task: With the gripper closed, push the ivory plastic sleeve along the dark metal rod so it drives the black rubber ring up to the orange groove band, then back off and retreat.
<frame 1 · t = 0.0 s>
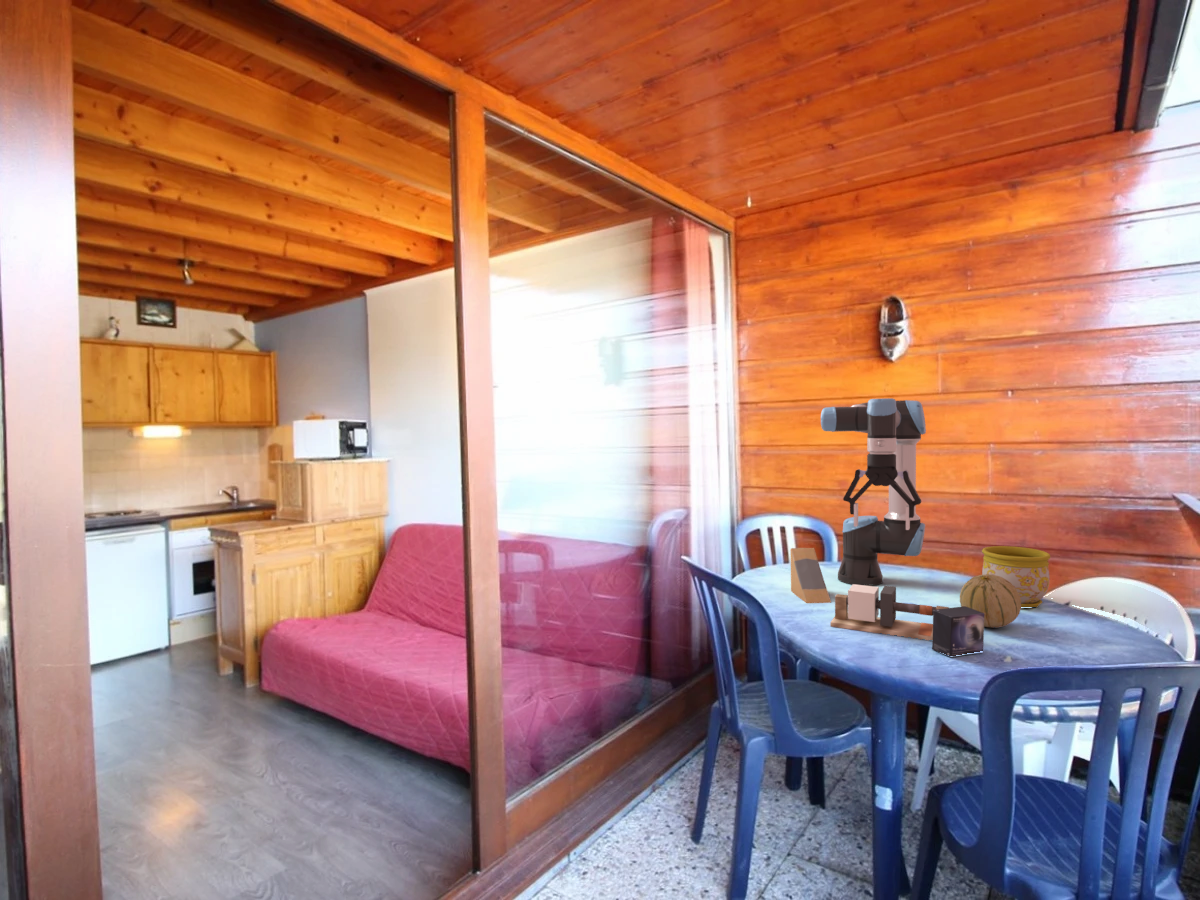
hand: (881, 527, 184), 28 cm above the table, fingers open, 13 cm apart
small box: (957, 652, 163), on the table
sleeve: (863, 602, 185), point 6 cm above the table, slide at 0.0 cm
flowerpot: (1014, 603, 203), on the table
ring: (888, 605, 181), point 6 cm above the table, slide at 0.0 cm
rail: (890, 628, 181), on the table
cantaloupe: (989, 626, 182), on the table
sandwich container: (810, 597, 215), on the table
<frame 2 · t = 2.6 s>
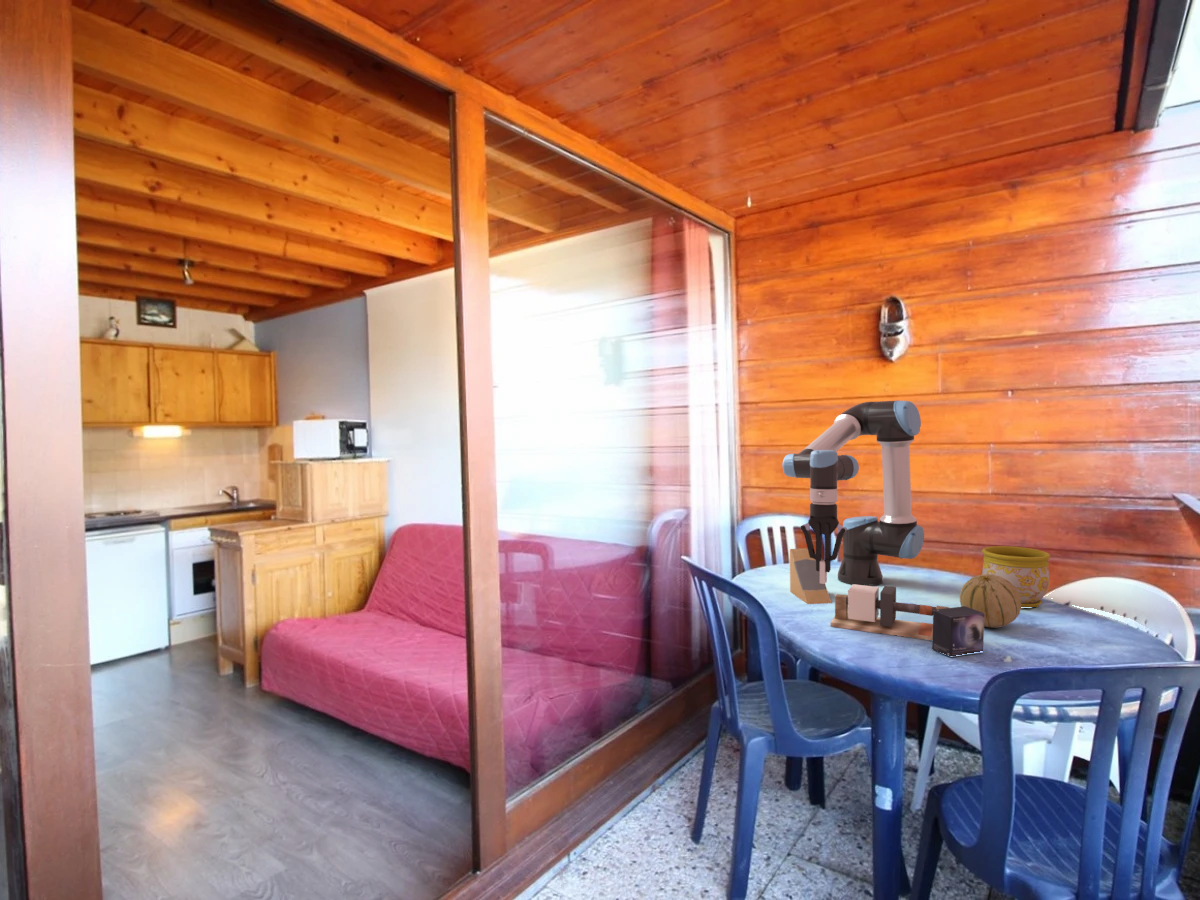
hand: (823, 582, 190), 11 cm above the table, fingers closed
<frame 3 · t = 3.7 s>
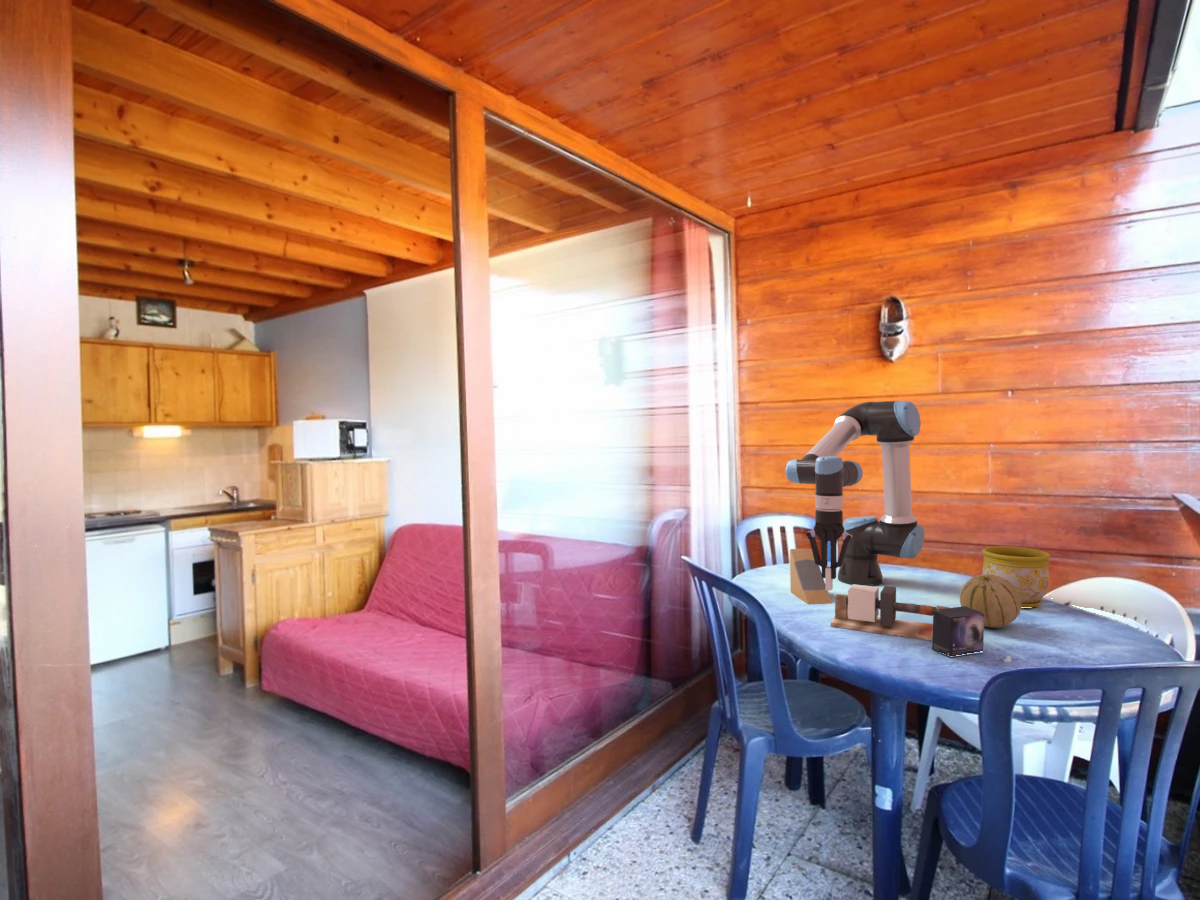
hand: (829, 589, 189), 9 cm above the table, fingers closed
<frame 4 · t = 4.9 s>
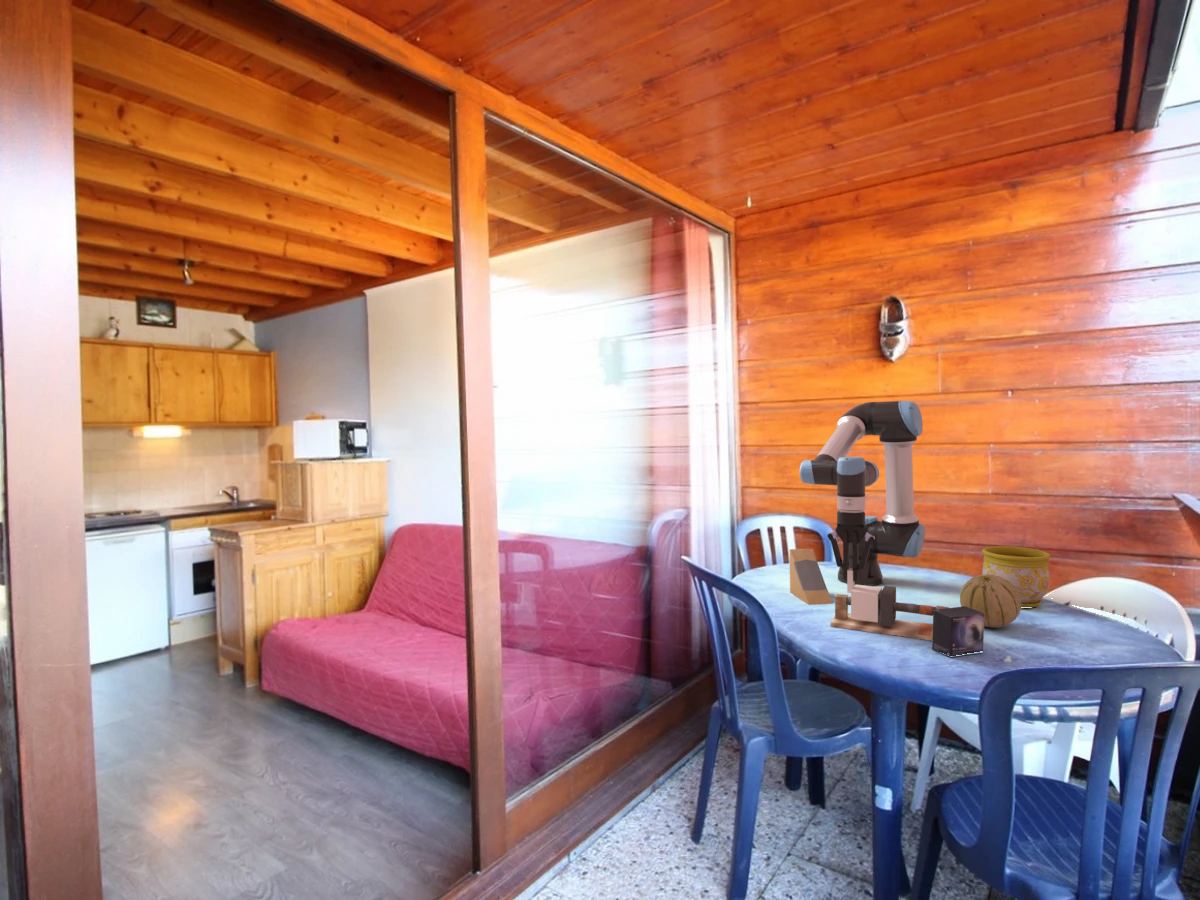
hand: (850, 591, 186), 9 cm above the table, fingers closed
sleeve: (866, 603, 184), point 6 cm above the table, slide at 0.8 cm, touching gripper
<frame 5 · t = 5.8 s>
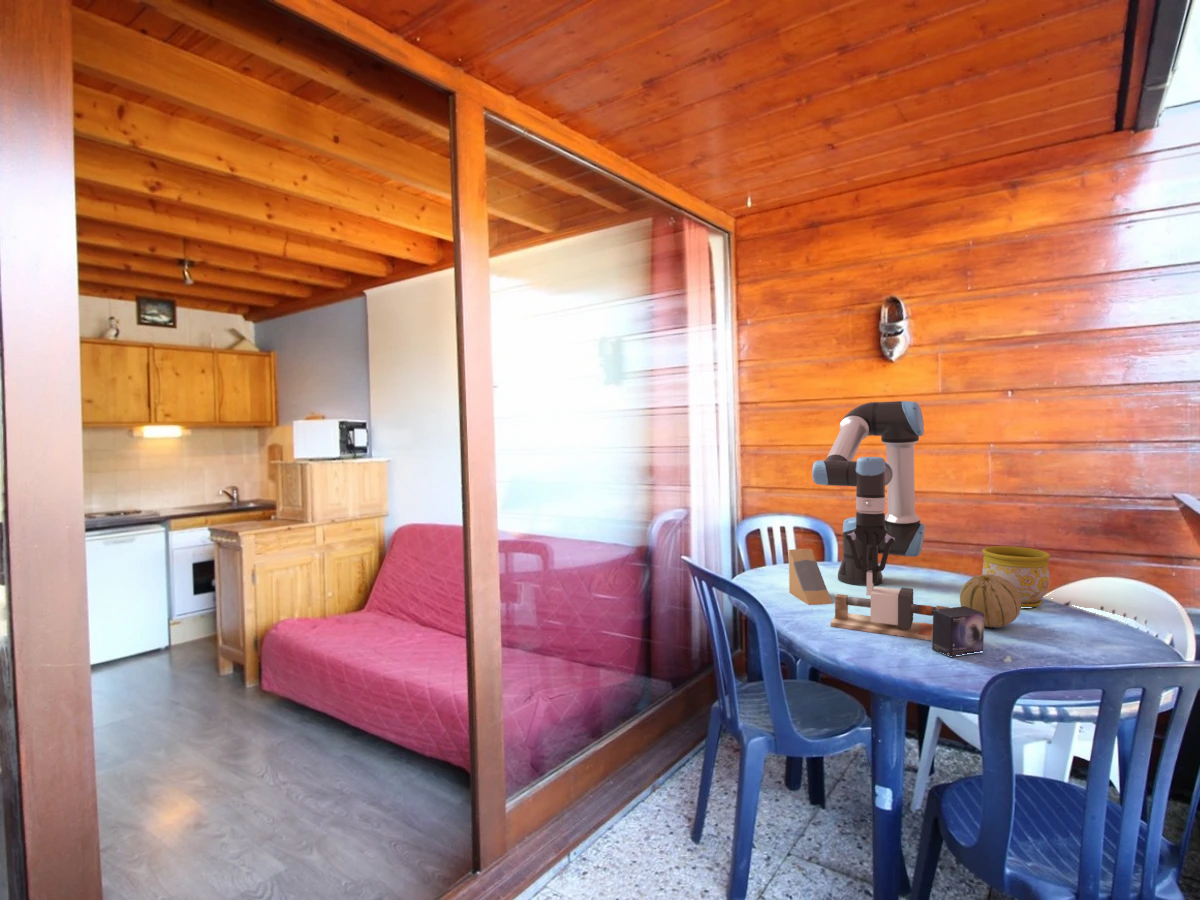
hand: (870, 594, 184), 9 cm above the table, fingers closed
sleeve: (886, 605, 182), point 6 cm above the table, slide at 6.0 cm, touching gripper, ring
ring: (905, 607, 179), point 6 cm above the table, slide at 4.5 cm, touching sleeve
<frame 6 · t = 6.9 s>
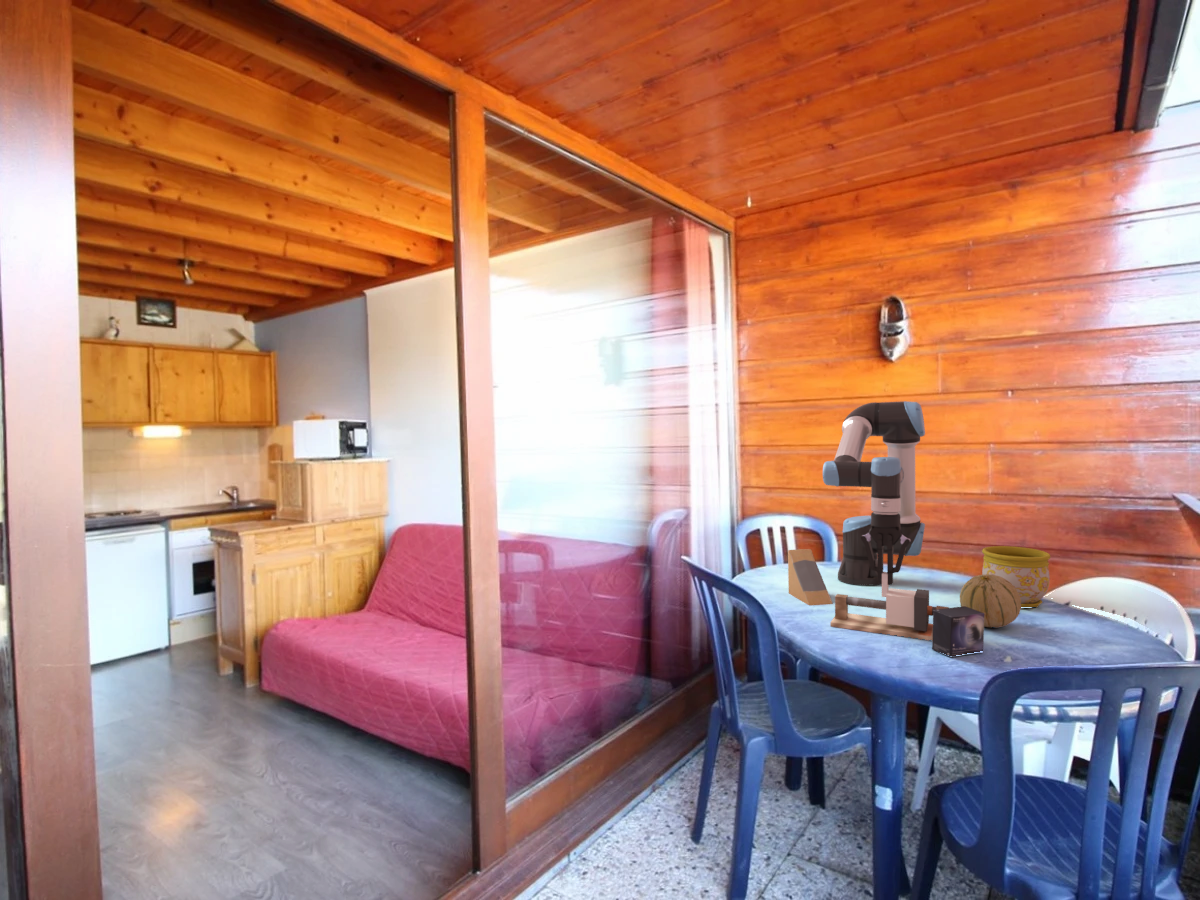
hand: (885, 595, 181), 9 cm above the table, fingers closed
sleeve: (901, 607, 179), point 6 cm above the table, slide at 9.9 cm, touching gripper, ring
ring: (921, 609, 177), point 6 cm above the table, slide at 8.4 cm, touching sleeve
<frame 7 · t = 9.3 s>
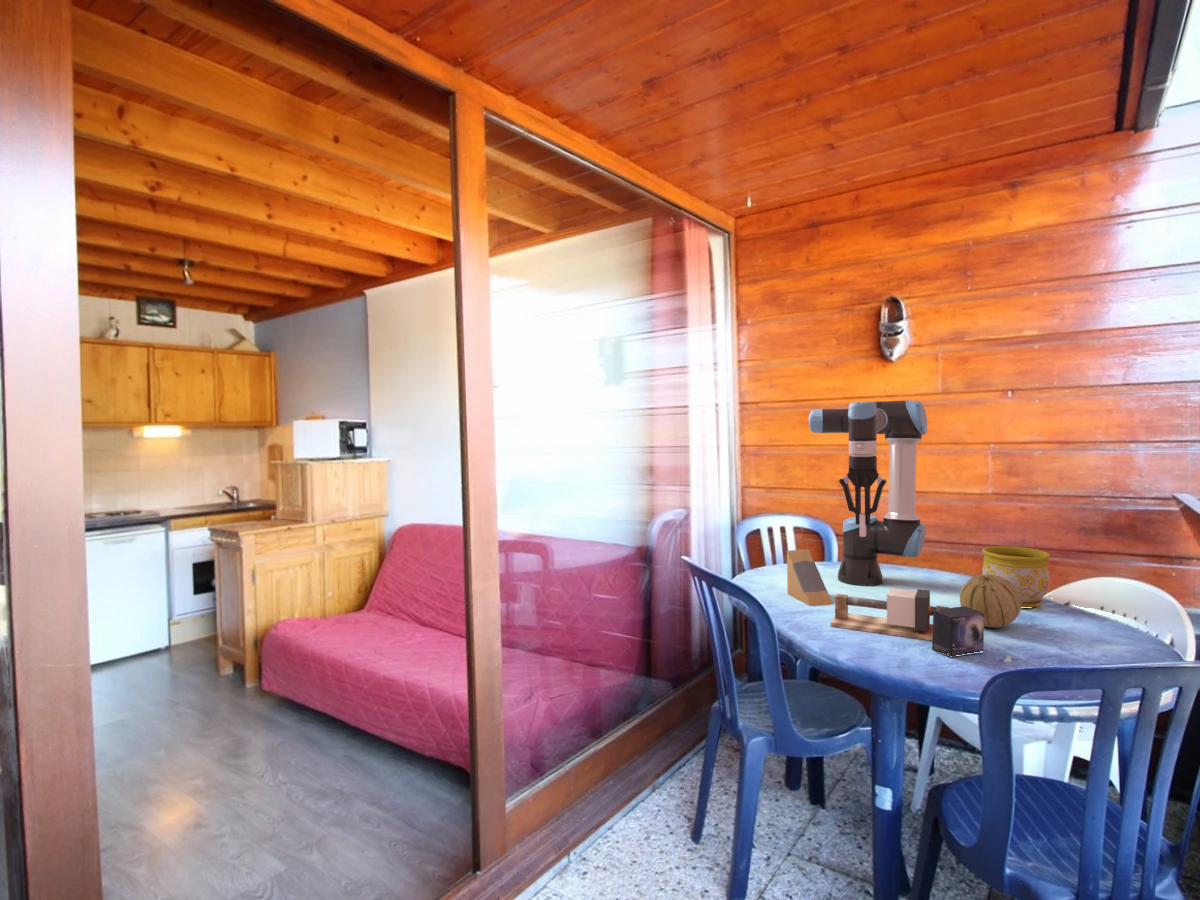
hand: (863, 535, 188), 25 cm above the table, fingers closed
sleeve: (902, 607, 179), point 6 cm above the table, slide at 10.1 cm, touching ring
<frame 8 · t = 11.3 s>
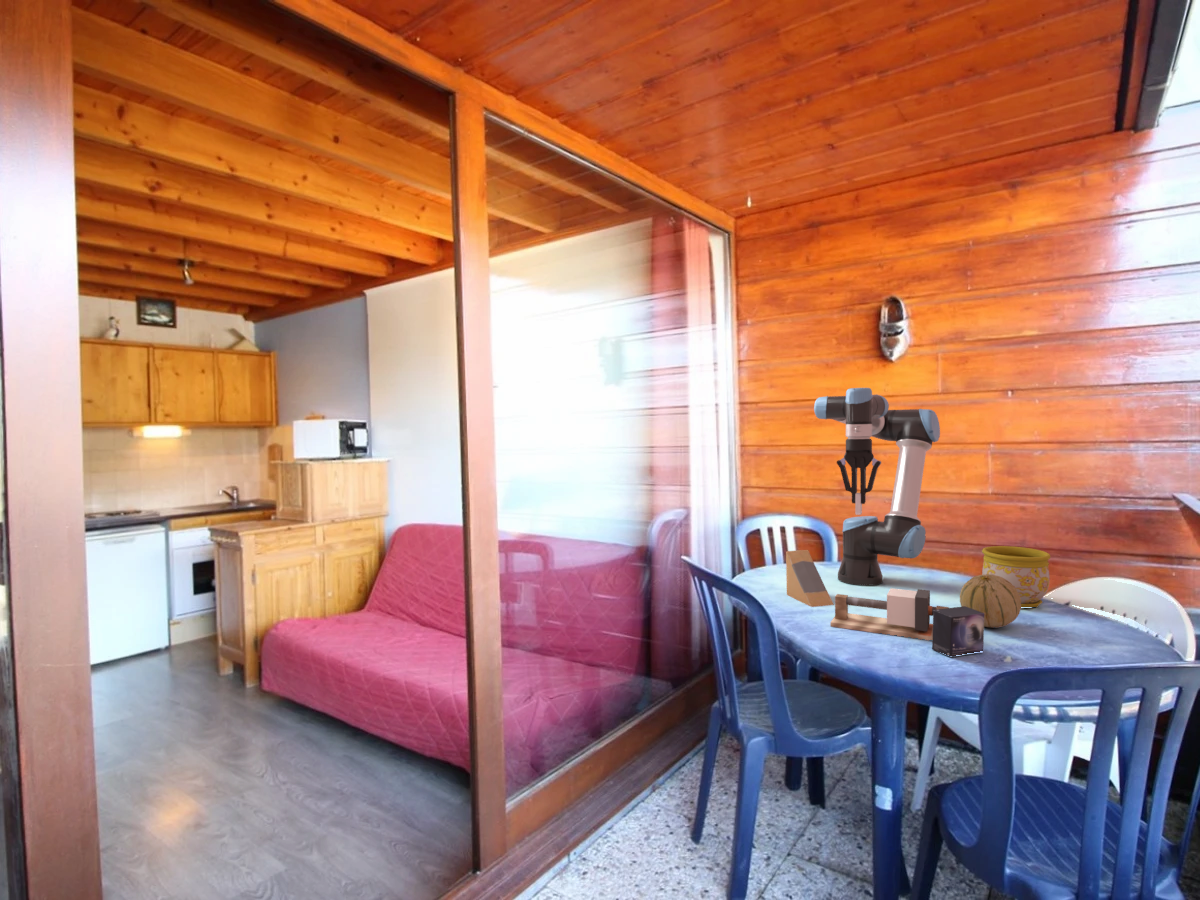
hand: (858, 514, 200), 29 cm above the table, fingers closed
at the end: ring slide at 8.6 cm; sleeve slide at 10.1 cm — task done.
